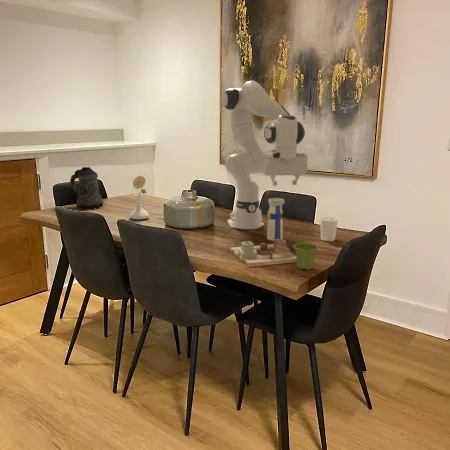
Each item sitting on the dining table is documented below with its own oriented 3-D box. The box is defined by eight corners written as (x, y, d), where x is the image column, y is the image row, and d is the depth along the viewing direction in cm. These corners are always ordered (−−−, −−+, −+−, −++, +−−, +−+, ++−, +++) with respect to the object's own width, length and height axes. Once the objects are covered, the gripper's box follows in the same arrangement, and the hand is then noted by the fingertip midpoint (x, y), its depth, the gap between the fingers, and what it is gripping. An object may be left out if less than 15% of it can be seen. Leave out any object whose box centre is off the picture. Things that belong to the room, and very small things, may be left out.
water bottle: (269, 241, 216) (271, 189, 210) (263, 236, 224) (264, 186, 218) (285, 240, 218) (288, 188, 212) (279, 235, 226) (281, 185, 220)
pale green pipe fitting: (237, 252, 194) (237, 241, 193) (251, 251, 196) (251, 240, 194) (242, 257, 188) (243, 245, 187) (257, 255, 190) (257, 244, 189)
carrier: (230, 251, 201) (230, 235, 199) (276, 246, 208) (276, 232, 206) (248, 266, 181) (249, 250, 179) (298, 261, 188) (299, 245, 186)
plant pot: (305, 273, 175) (306, 251, 172) (287, 266, 182) (288, 245, 180) (321, 268, 180) (323, 247, 178) (304, 262, 187) (305, 241, 185)
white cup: (338, 238, 222) (339, 218, 219) (333, 242, 215) (334, 222, 213) (322, 236, 226) (323, 216, 223) (317, 240, 219) (318, 219, 217)
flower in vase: (125, 218, 260) (123, 174, 254) (142, 215, 268) (141, 172, 262) (137, 222, 251) (135, 177, 245) (155, 219, 258) (153, 175, 252)
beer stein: (103, 209, 284) (101, 168, 278) (71, 210, 279) (67, 169, 273) (103, 203, 300) (101, 165, 294) (72, 205, 295) (69, 166, 289)
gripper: (304, 152, 203) (302, 183, 207) (261, 153, 197) (260, 184, 201) (311, 153, 197) (309, 185, 201) (267, 154, 191) (266, 187, 195)
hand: (284, 185), depth 201 cm, fingers open, 8 cm apart
